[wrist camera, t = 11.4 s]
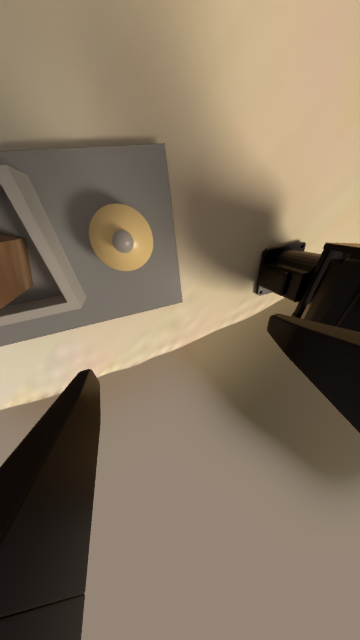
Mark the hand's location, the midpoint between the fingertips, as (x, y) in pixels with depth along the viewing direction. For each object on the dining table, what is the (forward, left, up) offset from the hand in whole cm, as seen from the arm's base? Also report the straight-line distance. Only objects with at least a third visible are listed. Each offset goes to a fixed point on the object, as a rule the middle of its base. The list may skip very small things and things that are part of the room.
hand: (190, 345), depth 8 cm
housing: (+7, -3, -13) cm, 15 cm away
